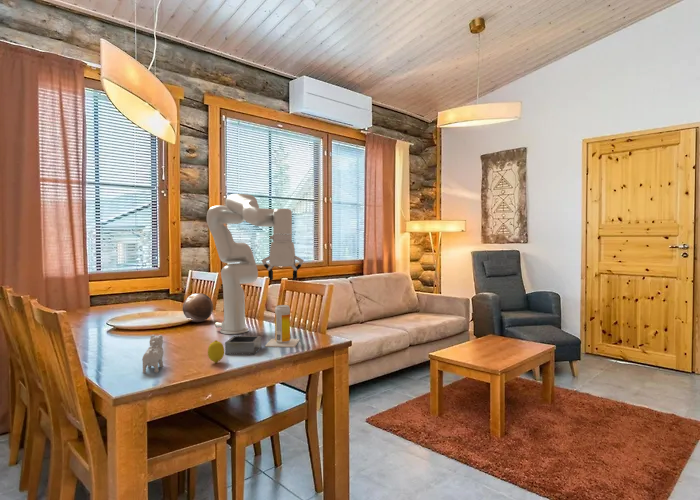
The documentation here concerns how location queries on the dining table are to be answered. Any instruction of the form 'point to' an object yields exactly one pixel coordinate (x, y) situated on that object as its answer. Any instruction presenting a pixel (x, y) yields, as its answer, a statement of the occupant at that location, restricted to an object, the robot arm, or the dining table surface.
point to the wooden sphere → (198, 307)
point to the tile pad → (290, 344)
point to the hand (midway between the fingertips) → (282, 280)
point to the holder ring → (243, 345)
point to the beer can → (282, 324)
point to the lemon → (215, 351)
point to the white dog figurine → (154, 354)
